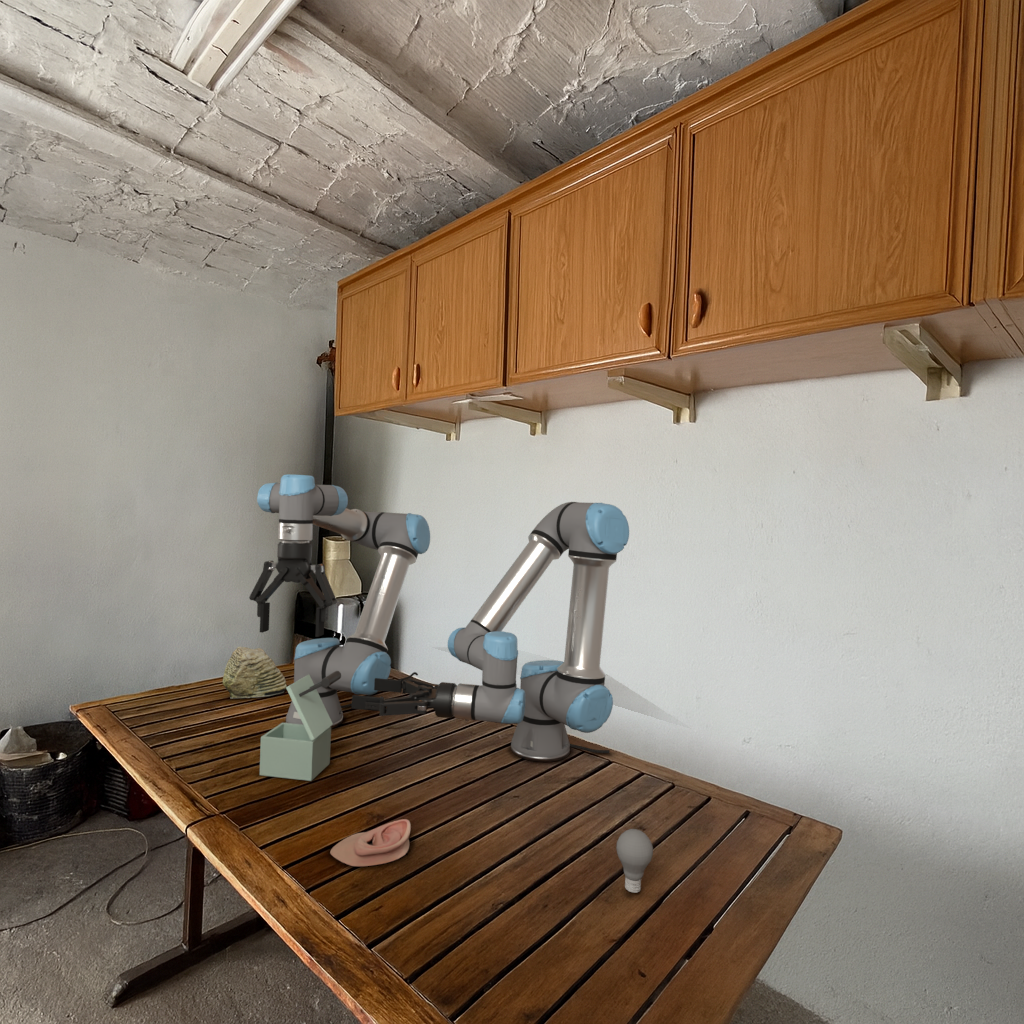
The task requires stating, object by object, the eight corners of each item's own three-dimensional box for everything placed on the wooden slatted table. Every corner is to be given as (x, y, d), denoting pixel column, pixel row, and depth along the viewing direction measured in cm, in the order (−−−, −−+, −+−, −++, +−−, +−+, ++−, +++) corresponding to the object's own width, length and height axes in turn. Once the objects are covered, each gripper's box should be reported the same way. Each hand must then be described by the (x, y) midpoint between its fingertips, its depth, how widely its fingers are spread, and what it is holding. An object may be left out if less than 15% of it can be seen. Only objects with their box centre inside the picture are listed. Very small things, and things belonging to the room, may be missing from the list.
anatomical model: (322, 838, 110) (352, 807, 121) (321, 861, 110) (351, 828, 121) (394, 850, 107) (417, 817, 119) (393, 873, 107) (416, 838, 119)
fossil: (218, 695, 195) (220, 647, 195) (278, 685, 208) (279, 640, 207) (228, 703, 189) (230, 653, 188) (289, 692, 201) (290, 645, 201)
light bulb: (610, 879, 108) (613, 822, 108) (644, 879, 109) (647, 822, 109) (619, 902, 102) (622, 840, 102) (655, 901, 103) (658, 840, 103)
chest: (259, 775, 143) (260, 736, 142) (281, 758, 152) (282, 722, 152) (311, 781, 141) (312, 742, 141) (329, 763, 150) (331, 727, 150)
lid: (285, 687, 141) (320, 670, 140) (305, 675, 151) (338, 659, 150) (310, 740, 141) (345, 724, 139) (329, 725, 150) (362, 710, 149)
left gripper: (235, 539, 144) (232, 632, 144) (339, 545, 140) (336, 640, 141) (253, 538, 151) (250, 626, 152) (353, 543, 148) (349, 634, 148)
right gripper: (440, 738, 128) (340, 728, 131) (466, 700, 153) (382, 692, 156) (441, 701, 128) (342, 692, 131) (468, 669, 153) (383, 662, 156)
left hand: (291, 633), depth 146 cm, fingers open, 13 cm apart
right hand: (364, 692), depth 144 cm, fingers open, 13 cm apart
